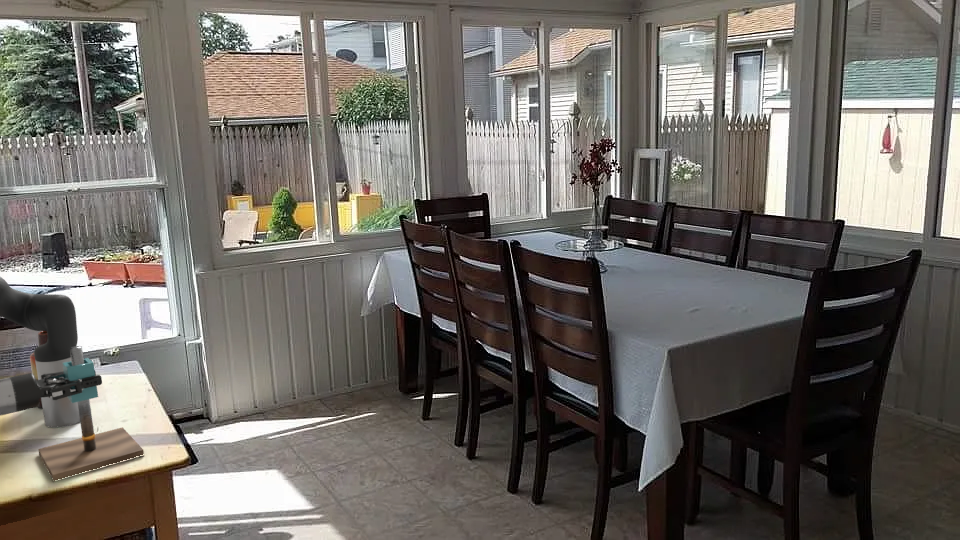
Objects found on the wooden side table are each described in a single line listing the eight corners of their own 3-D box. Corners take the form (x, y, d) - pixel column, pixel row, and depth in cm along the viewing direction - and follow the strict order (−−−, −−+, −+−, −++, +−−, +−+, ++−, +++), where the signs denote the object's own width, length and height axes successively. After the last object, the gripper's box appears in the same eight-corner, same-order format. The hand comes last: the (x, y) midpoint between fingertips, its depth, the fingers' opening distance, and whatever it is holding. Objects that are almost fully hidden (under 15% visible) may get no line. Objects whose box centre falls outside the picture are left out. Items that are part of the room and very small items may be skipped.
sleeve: (67, 397, 165) (62, 362, 163) (92, 391, 168) (88, 357, 167) (72, 403, 161) (67, 368, 160) (98, 397, 164) (93, 362, 163)
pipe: (82, 449, 167) (67, 347, 163) (95, 445, 169) (80, 345, 164) (85, 452, 165) (70, 350, 161) (97, 449, 167) (83, 347, 162)
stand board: (39, 455, 168) (38, 449, 168) (123, 433, 180) (122, 427, 179) (53, 481, 155) (52, 475, 154) (144, 455, 166) (143, 449, 165)
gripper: (13, 386, 149) (103, 367, 160) (3, 370, 160) (88, 353, 171) (18, 421, 151) (108, 400, 161) (8, 403, 162) (93, 384, 172)
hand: (97, 376), depth 166 cm, fingers closed on sleeve, 5 cm apart
